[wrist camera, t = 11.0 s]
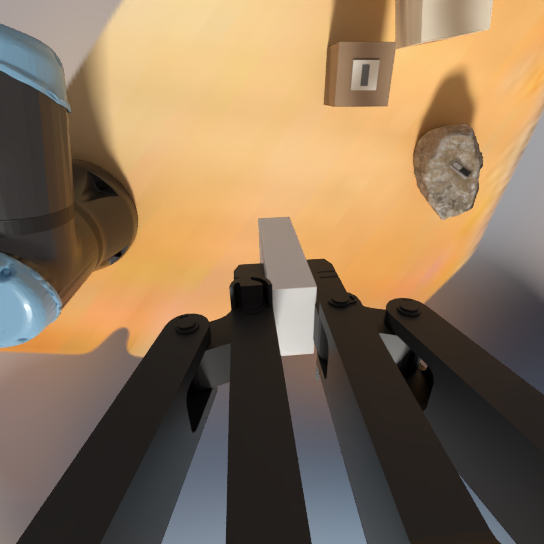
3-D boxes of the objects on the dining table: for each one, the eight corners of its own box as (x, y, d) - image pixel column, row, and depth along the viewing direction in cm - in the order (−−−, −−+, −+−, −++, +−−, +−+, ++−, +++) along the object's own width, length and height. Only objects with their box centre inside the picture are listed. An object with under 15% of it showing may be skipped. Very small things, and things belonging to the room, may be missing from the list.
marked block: (323, 104, 43) (335, 106, 38) (327, 48, 40) (339, 41, 35) (370, 104, 43) (388, 106, 38) (376, 48, 41) (397, 41, 35)
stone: (454, 113, 44) (485, 119, 38) (468, 195, 50) (496, 212, 44) (400, 137, 46) (422, 147, 40) (419, 215, 51) (441, 233, 45)
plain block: (394, 49, 41) (421, 42, 35) (394, -26, 37) (424, -48, 31) (452, 38, 41) (489, 29, 34) (458, -38, 37) (500, -63, 31)
